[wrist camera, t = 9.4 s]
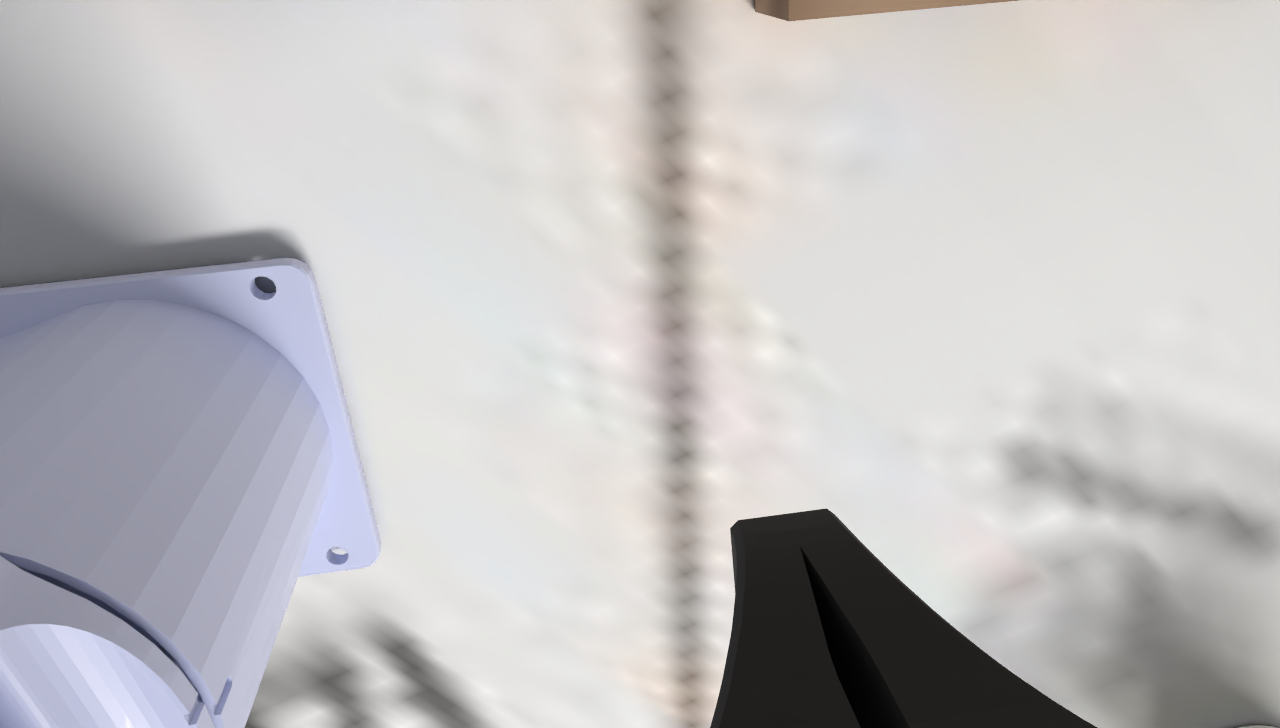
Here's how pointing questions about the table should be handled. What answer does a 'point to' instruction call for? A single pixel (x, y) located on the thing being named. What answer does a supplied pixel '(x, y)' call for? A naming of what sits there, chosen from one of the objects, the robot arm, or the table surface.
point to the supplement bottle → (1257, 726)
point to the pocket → (849, 7)
